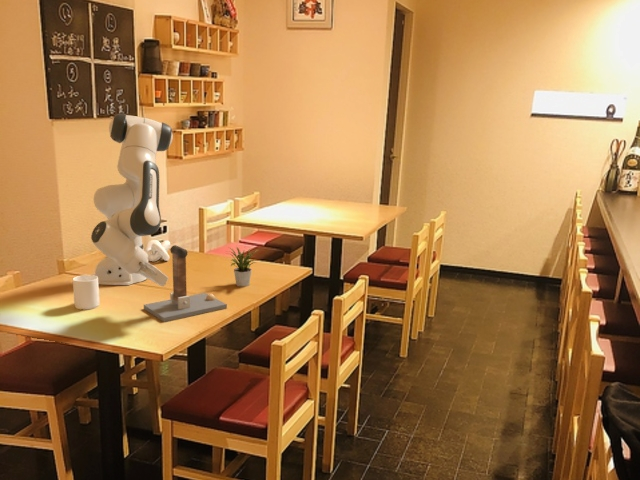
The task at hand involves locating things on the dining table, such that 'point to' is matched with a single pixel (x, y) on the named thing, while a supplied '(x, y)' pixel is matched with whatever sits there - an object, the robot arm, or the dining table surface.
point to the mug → (86, 292)
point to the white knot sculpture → (157, 250)
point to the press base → (184, 306)
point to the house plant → (242, 268)
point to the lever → (179, 271)
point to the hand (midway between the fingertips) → (163, 283)
